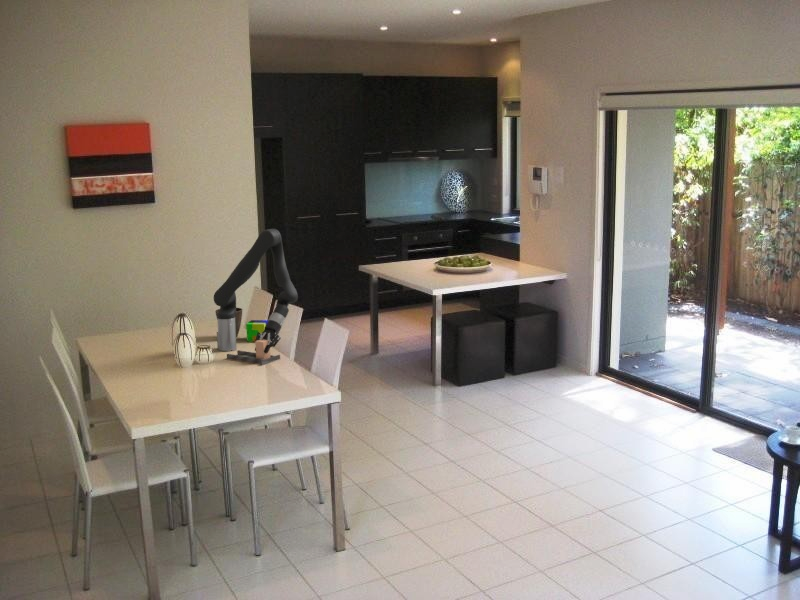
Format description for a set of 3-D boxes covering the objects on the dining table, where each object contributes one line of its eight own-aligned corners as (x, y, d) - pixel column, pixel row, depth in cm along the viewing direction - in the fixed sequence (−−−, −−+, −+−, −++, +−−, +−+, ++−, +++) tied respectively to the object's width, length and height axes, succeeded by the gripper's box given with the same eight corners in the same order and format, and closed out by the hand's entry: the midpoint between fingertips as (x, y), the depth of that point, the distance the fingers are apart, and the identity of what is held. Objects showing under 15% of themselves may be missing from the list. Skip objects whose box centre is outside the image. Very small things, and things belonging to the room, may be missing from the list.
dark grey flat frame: (223, 362, 422) (223, 355, 421) (242, 355, 434) (241, 349, 433) (262, 368, 409) (262, 361, 409) (280, 361, 421) (280, 355, 421)
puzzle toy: (269, 337, 473) (268, 320, 471) (264, 341, 463) (263, 324, 462) (252, 337, 474) (251, 320, 472) (247, 341, 464) (246, 324, 463)
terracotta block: (256, 358, 416) (255, 341, 415) (262, 356, 421) (261, 339, 419) (264, 359, 414) (263, 342, 412) (270, 357, 418) (269, 340, 416)
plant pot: (213, 340, 468) (211, 312, 465) (222, 334, 482) (220, 307, 479) (238, 341, 466) (237, 312, 463) (247, 334, 480) (245, 307, 477)
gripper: (260, 318, 424) (245, 346, 416) (282, 320, 417) (268, 349, 409) (267, 326, 429) (253, 354, 421) (289, 329, 422) (275, 357, 414)
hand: (260, 351), depth 415 cm, fingers closed on terracotta block, 5 cm apart
